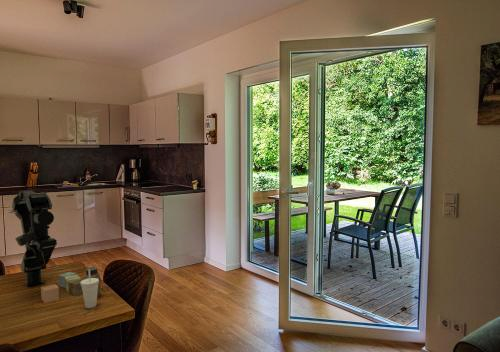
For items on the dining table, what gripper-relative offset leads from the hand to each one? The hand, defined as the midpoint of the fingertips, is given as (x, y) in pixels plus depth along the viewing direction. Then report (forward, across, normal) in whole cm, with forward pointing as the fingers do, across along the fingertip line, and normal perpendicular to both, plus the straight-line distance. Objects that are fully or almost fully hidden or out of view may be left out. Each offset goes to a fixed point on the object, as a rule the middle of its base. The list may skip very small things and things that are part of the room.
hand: (42, 262), depth 150 cm
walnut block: (+14, +9, +10) cm, 19 cm away
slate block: (+13, -3, +10) cm, 17 cm away
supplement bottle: (+14, +17, +12) cm, 25 cm away
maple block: (+13, +3, +10) cm, 17 cm away
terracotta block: (+14, +7, 0) cm, 16 cm away
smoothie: (+15, +26, +8) cm, 31 cm away
